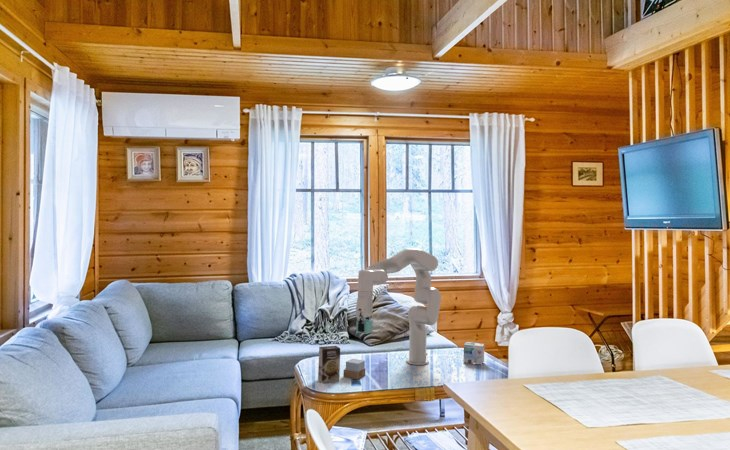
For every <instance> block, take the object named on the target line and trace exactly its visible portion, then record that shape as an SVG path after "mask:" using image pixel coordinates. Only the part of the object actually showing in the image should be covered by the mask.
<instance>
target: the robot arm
mask: <svg viewBox="0 0 730 450" xmlns="http://www.w3.org/2000/svg"><path fill="white" fill-rule="evenodd" d="M409 265H410V266H411V268H412V269H413V272H414V273H415V277H416V278H415V285H414V292H413V293H414V294H413V300H414V302H415V303H418V304H421V305H417V304H415V305H413V306H411V307H409V309H408V312H407V316H408V323H409V336H408V337H409V339H408V340H409V346H408V348H409V349H408V351H409V352H408V358H406V360H405V362H406V363H407V364H410V365H413V366H424V365H429V363H430V360H429V359H427V356H428V352H427V336H428V334H427V327H426V326H427V325H428V326H434V325H436V323H437V322H438V320H439V315H440V309H441V301H442V295H441V291H440V290H439V289H438V288H436V287H432V285H431V284H432V276H431V273H430V272H433V271H435V270H436V269H437V268H438V267H439V261H438V259H437V257H436V256H435V255H433V254H431V253H429V252H427V251H425V250H423V249H420V248H412V247H410V248H403V249H402V250H400V251H399V252H397V253H396V254H395V255H393V256H391V257H390V258H386V259H382V260H380V261H377V262H374V263H372V264H371V265H369V266H367V267H366V268H365V269H360V270H359V271H358V277H357V278H358V279H357V283H358V284H357V299H356V306H355V317H356V320H357V321H358V331H359V332H364V324H363V323H364V319H368V320H372V318H373V315H374V314H373V311H374V309H373V308H374V307H373V306H374V305H373V303H374V302H373V297H374V295H373V294H374V285H383V284H385V283H386V282H387V281H388V278H389V276H388V274H395V273H398V272H400V271H402V270H403V269H405V268H406V267H408V266H409ZM422 304H423V305H427V306H423V305H422ZM361 319H362V320H361Z"/></svg>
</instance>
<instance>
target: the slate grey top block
mask: <svg viewBox="0 0 730 450" xmlns="http://www.w3.org/2000/svg"><path fill="white" fill-rule="evenodd" d="M365 365H366V361H365V360H364V359H358V358H351V359H349V360H347V361H345V369H346V370H350V371H356V372H359V371H361V370H363V369H365V370H366V366H365Z"/></svg>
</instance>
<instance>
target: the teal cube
mask: <svg viewBox="0 0 730 450" xmlns="http://www.w3.org/2000/svg"><path fill="white" fill-rule="evenodd" d="M361 320H362V319H361ZM373 322H374V321H373V319H371V320H368V319H364V323H363V324H364V332H359V331H358V321H357V319H356V323H355V324H356V326H355V330H356V331H355V333H356V334H357V333H358V334H366V335H367V334H370V333H372V332H373V324H374V323H373Z"/></svg>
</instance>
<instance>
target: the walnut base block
mask: <svg viewBox="0 0 730 450" xmlns="http://www.w3.org/2000/svg"><path fill="white" fill-rule="evenodd" d="M342 375H343V378H346V379H353V380H356V381H357V380H360V379H361V378H364V377H365V376H366V368H365V369H363V370H361V371H359V372H356V371H350V370H346V368H344V369H343V374H342Z"/></svg>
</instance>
